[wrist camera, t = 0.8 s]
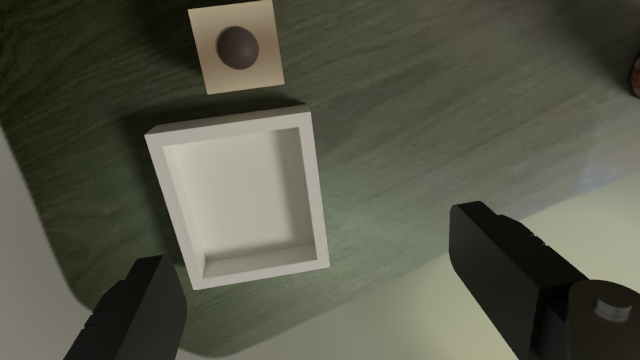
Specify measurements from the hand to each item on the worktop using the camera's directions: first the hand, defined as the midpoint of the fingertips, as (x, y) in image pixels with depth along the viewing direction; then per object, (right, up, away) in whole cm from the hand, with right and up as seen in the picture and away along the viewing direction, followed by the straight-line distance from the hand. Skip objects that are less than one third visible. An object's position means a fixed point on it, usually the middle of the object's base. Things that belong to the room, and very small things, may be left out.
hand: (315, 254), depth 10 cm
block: (-5, +12, +17) cm, 21 cm away
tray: (-6, +1, +21) cm, 22 cm away
